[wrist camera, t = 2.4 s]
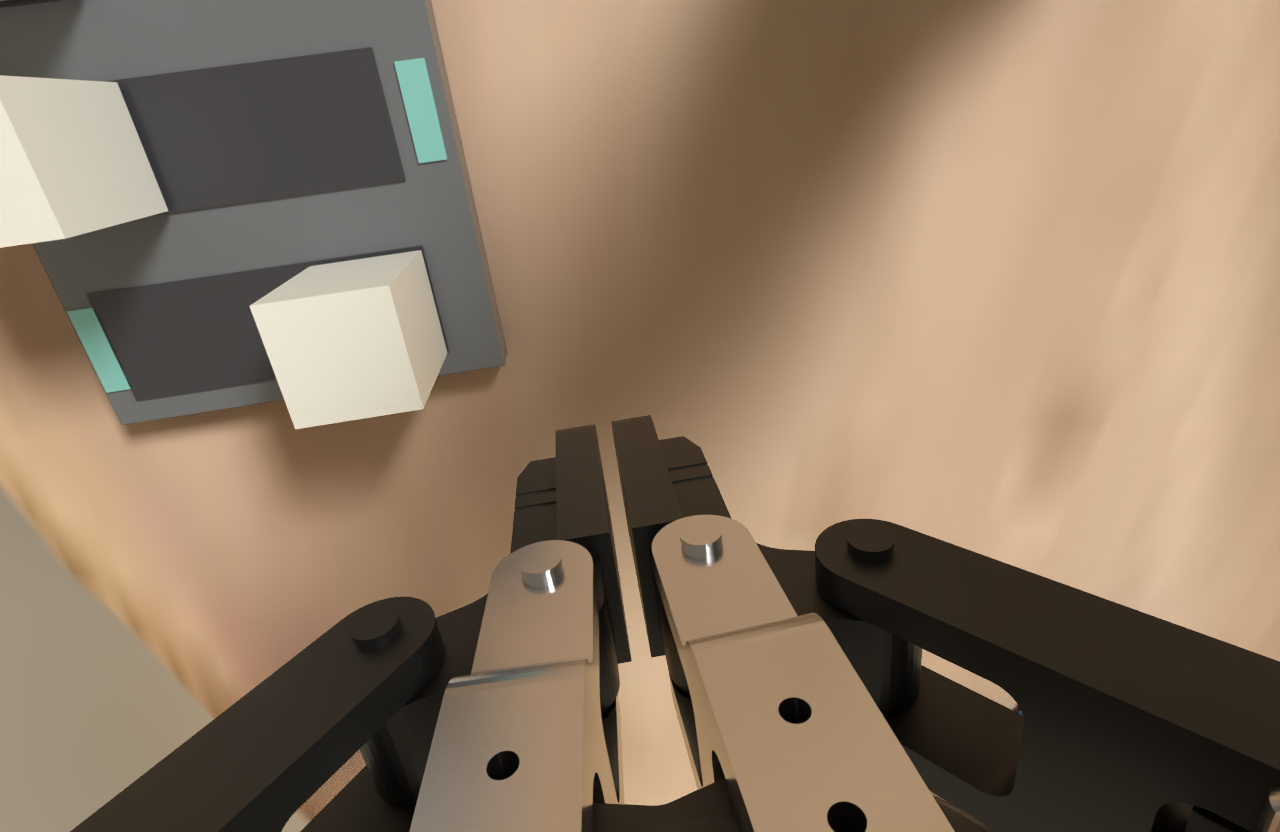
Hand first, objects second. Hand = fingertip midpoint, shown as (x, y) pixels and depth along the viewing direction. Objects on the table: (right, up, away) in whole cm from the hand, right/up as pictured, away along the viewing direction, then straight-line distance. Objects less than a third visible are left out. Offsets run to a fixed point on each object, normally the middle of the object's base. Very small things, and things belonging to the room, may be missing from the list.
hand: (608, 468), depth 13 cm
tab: (-9, +5, +13) cm, 17 cm away
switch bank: (-14, +11, +12) cm, 21 cm away
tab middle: (-18, +9, +10) cm, 23 cm away
